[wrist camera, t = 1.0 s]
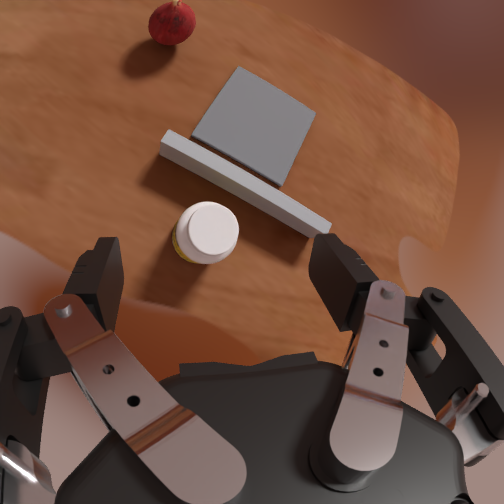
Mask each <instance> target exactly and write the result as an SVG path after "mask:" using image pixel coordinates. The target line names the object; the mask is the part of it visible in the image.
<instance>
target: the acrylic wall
mask: <svg viewBox="0 0 504 504" xmlns="http://www.w3.org/2000/svg"><path fill="white" fill-rule="evenodd" d="M159 155H161V156H163V157H165V158H167V159H169V160H171V161H172V162H174V163H176V164H178V165H180V166H182V167H184V168H186V169H188V170H189V171H191V172H193V173H195V174H197V175H199V176H201V177H202V178H204V179H206V180H208V181H210V182H212V183H213V184H215V185H217V186H219V187H221V188H223V189H224V190H226V191H228V192H230V193H232V194H233V195H235V196H237V197H239V198H241V199H242V200H244V201H246V202H248V203H249V204H251V205H253V206H255V207H257V208H258V209H260V210H262V211H264V212H265V213H267V214H269V215H271V216H272V217H274V218H276V219H278V220H279V221H281V222H283V223H284V224H286V225H288V226H290V227H291V228H293V229H295V230H296V231H298V232H300V233H302V234H303V235H305V236H307V237H308V238H314V237H315V236H316V234H318V233H328V232H329V229H330V227H331V224H332V223H330V222H328V221H327V220H325V219H324V218H322V217H321V216H319V215H317V214H316V213H314V212H313V211H311V210H309V209H308V208H306V207H305V206H303V205H301V204H300V203H298V202H297V201H295V200H293V199H292V198H290V197H288V196H287V195H285V194H283V193H282V192H280V191H278V190H277V189H275V188H273V187H272V186H270V185H268V184H267V183H265V182H263V181H262V180H260V179H258V178H256V177H255V176H253V175H251V174H250V173H248V172H246V171H244V170H243V169H241V168H239V167H237V166H236V165H234V164H232V163H230V162H228V161H227V160H225V159H223V158H221V157H219V156H218V155H216V154H214V153H212V152H210V151H209V150H207V149H205V148H203V147H201V146H199V145H197V144H196V143H194V142H192V141H190V140H188V139H186V138H184V137H182V136H180V135H179V134H177V133H175V132H173V131H171V130H169V129H168V131H167V132H166V134H165V135H164V137H163V139H162V140H161V144H160V153H159Z"/></svg>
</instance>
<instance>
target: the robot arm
mask: <svg viewBox="0 0 504 504" xmlns="http://www.w3.org/2000/svg"><path fill="white" fill-rule="evenodd" d="M309 277H310V280H311V281H312V283H313V285H314V287H315V288H316V290H317V292H318V294H319V295H320V297H321V299H322V301H323V302H324V304H325V306H326V308H327V309H328V311H329V313H330V315H331V316H332V318H333V320H334V322H335V324H336V325H337V327H338V329H339V331H340V332H343V331H349V330H352V332H353V334H352V336H351V339H350V341H349V345H348V348H347V351H346V354H345V357H344V360H343V363H342V366H339V365H336V364H333V363H329V362H323V361H317V359H316V356H315V354H314V352H307V353H299V354H292V355H283V356H280V357H277V358H274V359H272V360H269V361H266V362H263V363H260V364H257V365H253V366H243V365H234V364H225V363H218V362H205V363H185V364H184V363H182V364H179V366H180V374H177V375H173V376H170V377H168V378H165V379H163V380H161V381H159V382H156V380H155V379H154V378H153V377H152V376H151V375H150V374H149V373H148V371H147V370H146V369H145V368H144V367H143V366H142V365H141V364H140V363H139V362H138V360H137V359H136V358H135V357H134V356H133V355H132V354H131V352H130V351H129V350H128V349H127V348H126V347H125V345H124V344H123V343H122V342H121V341H120V340H119V338H118V337H117V336H116V335H115V333H114V330H115V324H116V319H117V314H118V309H119V304H120V299H121V294H122V290H123V285H124V273H123V266H122V259H121V253H120V246H119V240H118V238H117V237H100V238H99V239H98V241H97V243H96V245H95V247H94V249H93V250H87V251H86V252H85V253H84V254H82V255H81V256H80V257H79V259H78V261H77V263H76V265H75V267H74V269H73V271H72V274H71V276H70V278H69V280H68V282H67V284H66V287H65V289H64V291H63V294H62V295H59V296H57V297H55V298H53V299H51V300H50V301H49V302H48V303H47V304H46V306H45V308H44V313H41V314H37V315H33V316H29V317H23V314H22V312H21V310H20V309H19V308H17V307H13V306H9V307H5V308H2V309H0V504H474V503H473V502H472V501H471V499H470V497H469V495H468V492H467V487H466V482H465V474H464V466H467V467H470V466H473V465H475V464H477V463H478V462H479V461H481V460H482V459H483V458H485V457H486V456H487V455H488V454H490V453H491V452H492V451H494V450H495V449H496V448H497V447H499V446H500V445H501V444H502V443H503V442H504V366H503V365H502V363H501V362H500V361H499V359H498V358H497V356H496V355H495V354H494V352H493V351H492V349H491V348H490V347H489V346H488V344H487V343H486V342H485V340H484V339H483V338H482V336H481V335H480V334H479V332H478V331H477V330H476V329H475V327H474V326H473V325H472V324H471V322H470V321H469V320H468V319H467V317H466V316H465V315H464V314H463V312H462V311H461V310H460V309H459V308H458V306H457V305H456V304H455V303H454V302H453V300H452V299H451V298H450V297H449V296H448V295H447V294H446V293H445V292H443V291H441V290H439V289H437V288H433V287H427V288H425V289H423V291H422V294H421V295H420V298H417V297H410V296H405V293H404V291H403V290H402V289H401V288H400V287H399V286H398V285H396V284H394V283H392V282H389V281H385V280H379V279H378V277H377V276H376V275H375V274H374V273H373V271H372V270H371V269H370V268H369V267H368V265H366V264H365V262H364V261H363V260H362V259H361V257H360V256H359V255H358V254H357V253H356V251H355V250H353V249H352V248H350V247H349V246H347V245H345V244H343V243H342V241H341V240H340V239H339V238H338V237H337V236H336V234H334V233H318V234H316V236H315V238H314V243H313V248H312V253H311V257H310V262H309ZM436 334H438V336H439V337H440V338H441V340H442V341H443V343H444V344H445V347H446V355H445V357H444V359H443V360H442V359H441V357H440V356H439V354H438V353H437V351H436V350H435V348H434V347H433V345H432V344H431V343H432V341H433V339H434V338H435V336H436ZM406 364H407V365H408V367H409V369H410V371H411V373H412V374H413V376H414V378H415V380H416V381H417V383H418V385H419V387H420V389H421V391H422V392H423V394H424V396H425V398H426V400H427V402H428V404H429V406H430V407H431V409H432V411H433V413H434V415H435V417H436V420H434V419H433V418H430V417H429V416H427V415H425V414H423V413H422V412H420V411H418V410H416V409H415V408H413V407H411V406H409V405H407V404H406V403H404V402H402V401H401V394H402V387H403V381H404V373H405V365H406ZM67 372H71V374H72V376H73V378H74V379H75V381H76V382H77V384H78V385H79V387H80V389H81V391H82V392H83V394H84V395H85V397H86V398H87V400H88V401H89V403H90V404H91V406H92V407H93V409H94V410H95V412H96V413H97V415H98V416H99V418H100V419H101V421H102V423H103V424H104V425H105V426H106V428H107V430H108V431H109V433H108V434H107V435H106V436H105V437H104V438H103V439H102V440H101V441H100V443H99V444H98V445H97V446H96V447H95V448H94V449H93V450H92V451H91V452H90V453H89V454H88V456H87V457H86V458H85V459H84V460H83V461H82V462H81V463H80V464H79V466H77V468H76V469H75V470H74V471H73V472H72V473H71V474H70V475H69V476H68V477H67V478H66V479H65V480H64V482H63V483H62V484H61V486H60V487H59V489H58V491H57V494H56V492H55V491H54V489H53V486H52V481H51V475H50V472H49V470H48V468H47V466H46V465H45V464H44V463H43V462H42V461H41V460H40V459H39V453H40V442H41V433H42V424H43V417H44V410H45V403H46V397H47V391H48V386H49V380H50V376H55V375H59V374H63V373H67Z"/></svg>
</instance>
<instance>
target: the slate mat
mask: <svg viewBox="0 0 504 504" xmlns="http://www.w3.org/2000/svg"><path fill="white" fill-rule="evenodd" d="M315 115H316V113H315V112H314V111H312V110H311V109H309V108H308V107H306V106H305V105H303V104H302V103H300V102H299V101H297V100H296V99H294V98H292V97H291V96H289V95H288V94H286V93H284V92H283V91H281V90H280V89H278V88H276V87H275V86H273V85H271V84H270V83H268V82H266V81H265V80H263V79H261V78H259V77H258V76H256V75H254V74H252V73H251V72H249V71H247V70H245V69H243V68H242V67H240V66H238V68H237V69H236V70H235V72H234V73H233V74H232V76H231V77H230V79H229V80H228V81H227V83H226V84H225V86H224V87H223V88H222V90H221V91H220V93H219V94H218V96H217V97H216V98H215V100H214V101H213V103H212V104H211V106H210V107H209V109H208V110H207V112H206V113H205V115H204V116H203V118H202V119H201V121H200V122H199V124H198V125H197V127H196V128H195V130H194V132H193V133H192V135H191V136H192V137H194V138H196V139H198V140H200V141H202V142H203V143H205V144H207V145H209V146H211V147H213V148H214V149H216V150H218V151H220V152H222V153H223V154H225V155H227V156H229V157H231V158H232V159H234V160H236V161H238V162H239V163H241V164H243V165H245V166H246V167H248V168H250V169H252V170H253V171H255V172H257V173H258V174H260V175H262V176H264V177H265V178H267V179H269V180H270V181H272V182H274V183H275V184H277V185H279V186H280V187H281V186H282V185H283V183H284V181H285V179H286V177H287V175H288V172H289V170H290V168H291V166H292V164H293V162H294V160H295V157H296V155H297V153H298V151H299V149H300V147H301V145H302V142H303V140H304V138H305V136H306V134H307V132H308V130H309V128H310V125H311V123H312V121H313V119H314V117H315Z"/></svg>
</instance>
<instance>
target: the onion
mask: <svg viewBox="0 0 504 504" xmlns="http://www.w3.org/2000/svg"><path fill="white" fill-rule="evenodd" d="M195 25H196V20H195V14H194V12H193V10H192V9H191V8H190V7H189V6H188V5H186V4H184V3H182V0H172V2H169V3H166V4H164V5H162V6H160V7H158V8H157V9H156V10H155V11H154V12H153V14H152V15H151V17H150V19H149V26H148V28H149V32H150V35H151V37H152V38H153V39H154V40H156V41H157V42H158V43H160V44H163V45H176V44H179V43H181V42H183V41H185V40H186V39H187V38H188V37H189V36H190V35H191V34H192V32H193V30H194V28H195Z"/></svg>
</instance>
